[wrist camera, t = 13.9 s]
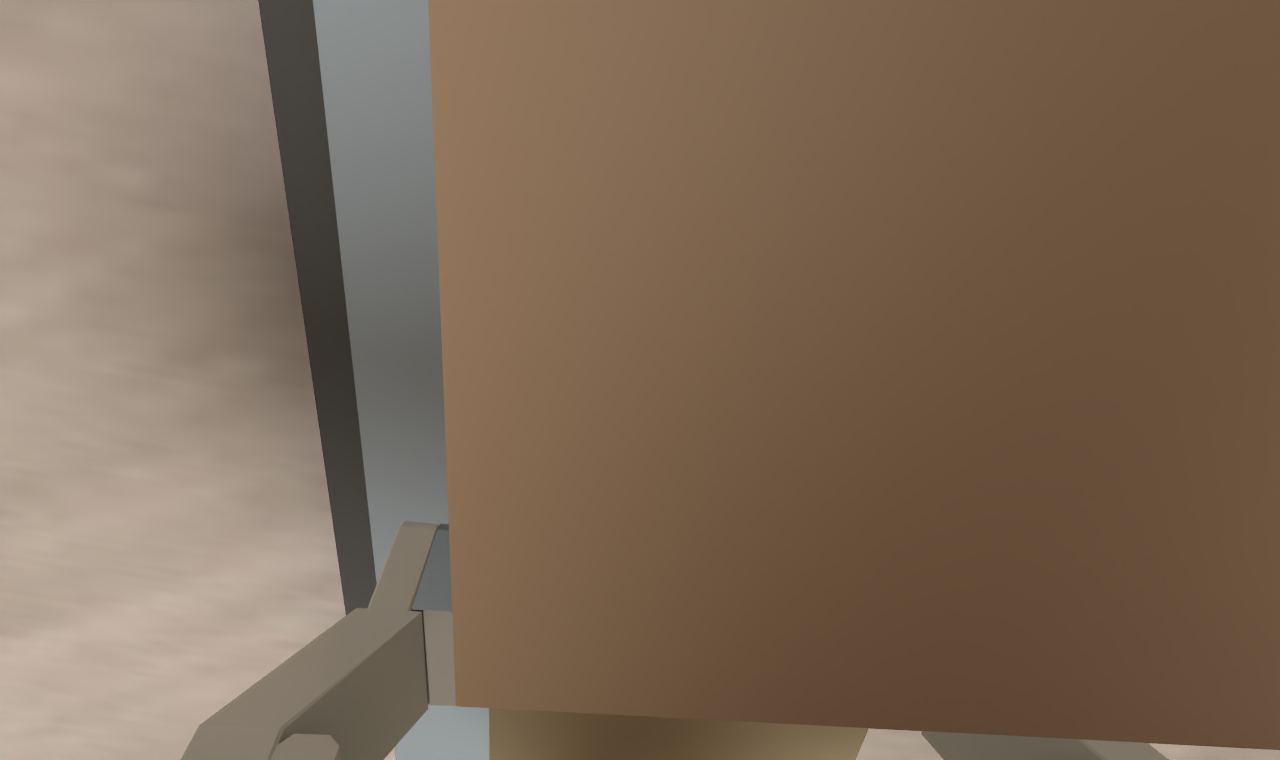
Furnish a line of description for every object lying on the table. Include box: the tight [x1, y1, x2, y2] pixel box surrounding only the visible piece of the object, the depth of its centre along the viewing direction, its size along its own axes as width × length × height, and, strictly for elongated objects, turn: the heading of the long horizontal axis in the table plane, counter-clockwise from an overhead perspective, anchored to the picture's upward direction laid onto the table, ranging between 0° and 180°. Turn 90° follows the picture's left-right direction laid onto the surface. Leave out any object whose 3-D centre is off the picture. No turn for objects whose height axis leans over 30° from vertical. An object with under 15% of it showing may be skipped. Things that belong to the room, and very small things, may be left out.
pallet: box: [489, 708, 868, 760], centre depth 11 cm, size 5×20×4 cm, turn 174°
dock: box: [258, 0, 489, 760], centre depth 16 cm, size 13×26×3 cm, turn 174°
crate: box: [428, 0, 1280, 750], centre depth 4 cm, size 4×4×4 cm
